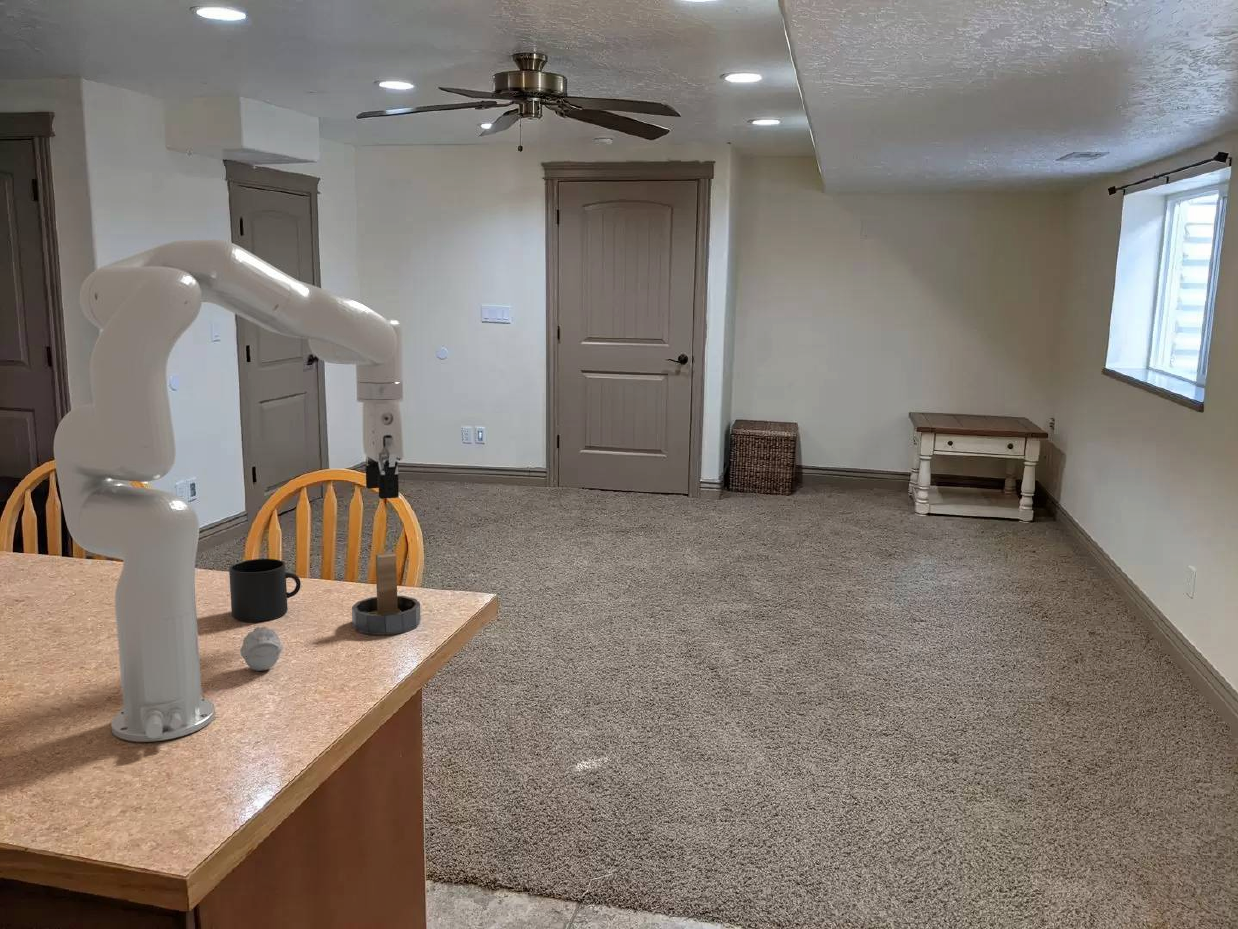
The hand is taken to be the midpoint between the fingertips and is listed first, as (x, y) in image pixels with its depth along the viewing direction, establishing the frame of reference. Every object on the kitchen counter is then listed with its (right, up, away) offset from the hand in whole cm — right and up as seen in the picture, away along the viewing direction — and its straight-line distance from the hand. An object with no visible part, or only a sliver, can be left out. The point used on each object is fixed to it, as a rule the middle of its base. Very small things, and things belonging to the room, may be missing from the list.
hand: (382, 492), depth 166 cm
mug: (-23, -22, +10) cm, 33 cm away
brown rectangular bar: (0, -23, +4) cm, 23 cm away
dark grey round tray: (0, -23, +4) cm, 24 cm away
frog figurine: (-14, -27, -17) cm, 35 cm away
